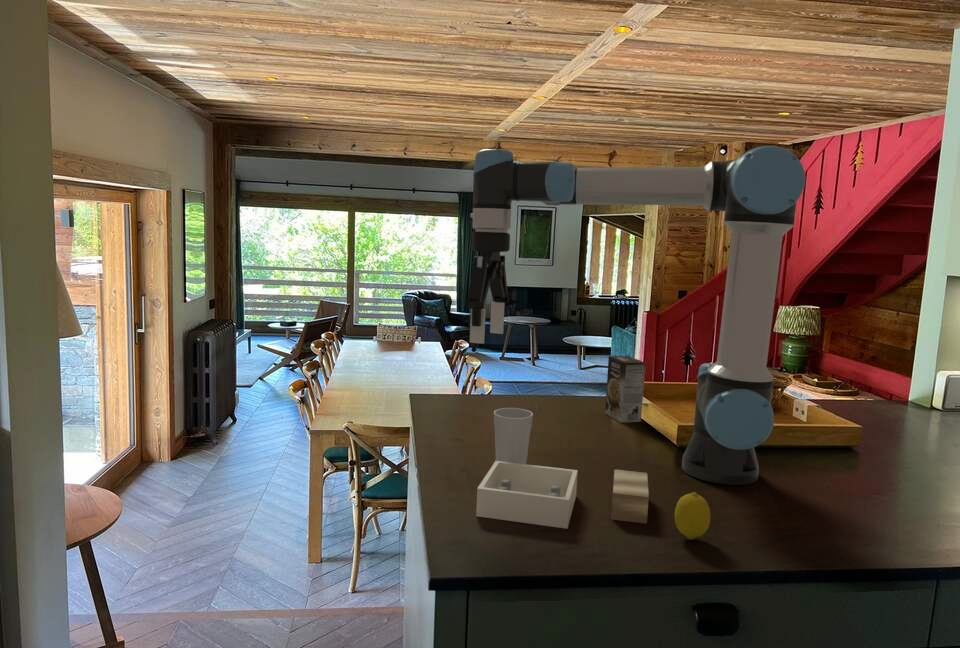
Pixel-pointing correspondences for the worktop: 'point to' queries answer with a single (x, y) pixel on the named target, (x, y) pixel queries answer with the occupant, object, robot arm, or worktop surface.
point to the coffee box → (625, 388)
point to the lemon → (692, 515)
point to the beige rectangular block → (630, 496)
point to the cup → (512, 434)
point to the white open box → (527, 494)
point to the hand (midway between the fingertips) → (487, 338)
